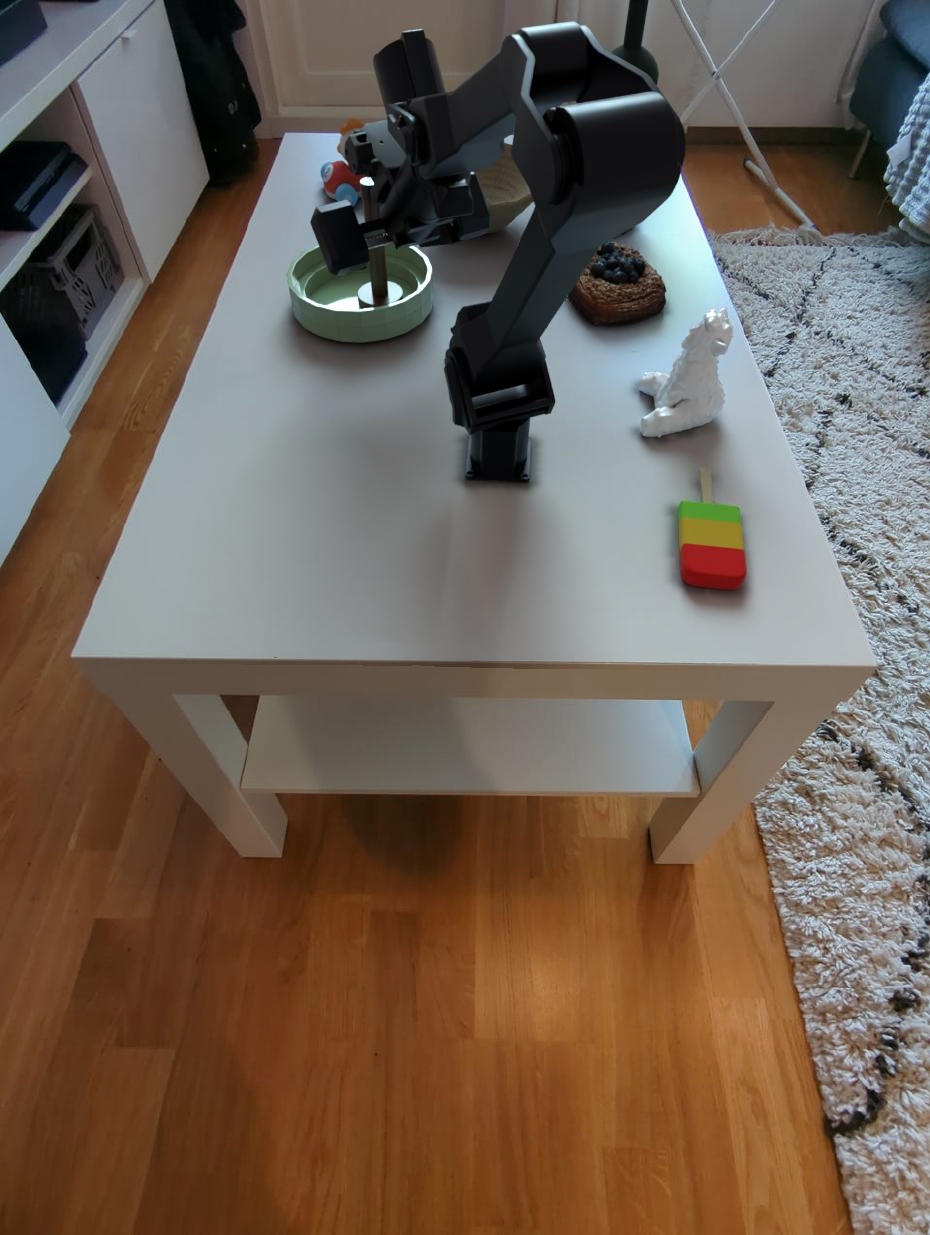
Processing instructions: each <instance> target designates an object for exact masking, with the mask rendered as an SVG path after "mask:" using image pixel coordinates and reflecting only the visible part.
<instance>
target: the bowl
mask: <svg viewBox="0 0 930 1235" xmlns="http://www.w3.org/2000/svg"><path fill="white" fill-rule="evenodd" d="M504 143H505V152H504V153H503V155H502V156H501V157H500V158H499V159H498V161H497V162H496V163H495V164H494V165H493V167H491V168H490V169H484V170H478V171H473V172H474V173H476V175H477V176H478V177H479V179H480V182H481V185H482V188H483V191H484V194H485V197H486V200H487V203H488V206H489V209H490V212H491V224H490V227H489V229H488V230H487V231H486V232H485V233H484V234H492V233H496V232H499V231H501V230H502V229H504V228H506V227H507V226H508V225H510V224H511V223H512V222H514V220H515V219H517V217H519V215H521V214H522V213H523V212H524V211H525V210H526V209H527V208H528V207H529V206H530V205H532V204H534V201H533V198H532V195H531V192H530V189H529V187H528V185H527V183H526V181H525V180H524V178H523V176H522V174H521V173H520V171H519V169H518V167H517V166H516V164H515V162H514V160H513V159H512V156H511V149H512V144H511V143H507V142H504Z"/></svg>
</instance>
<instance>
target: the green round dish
mask: <svg viewBox="0 0 930 1235" xmlns="http://www.w3.org/2000/svg"><path fill="white" fill-rule="evenodd" d="M365 240H366V238H365ZM366 241H367V240H366ZM384 246H385V258H386V269H387V281H390V282H394V283H396V284H398V285H399V286H400V287H401V288H402V290H403V297H404V299H402V300H400V301H397V302H394V303H391V304H388V305H385V306H380V307H373V308H365V309H362V308H361V307H360V306H359V304H358V296H357V293H358V290H359V289H360V287H362V286H363V285H365V284H367V283H369V282H371V278H370V268H369V263H368V265H367V268H366V269H363V270H360V271H356V272H353V273H349V274H343V275H340V276H335V275H333V274H331V273H330V272H329V270H328V268H327V265H326V262H325V260H324V257H323V255H322V252H321V249H320V247H319V244H318V243H317V244H316V245H315V244H314V245H313V246H311V247H309V248H308V249H306V250H304V251H301V253H300V254H299V255H298V256H297V257H296V258H295V259H294V260H292V261H291V262H290V265H289V267H288V270H287V272H286V275H285V276H286V280H287V285H288V291H289V296H290V301H291V307H292V311H293V316H294V319H296V320H297V322H298V323H299V324H300V325H301V326H302V327H303V328H304V329H305V330H307V331H309V332H311V333H312V334H315V335H317V336H318V337H320V338H325V339H328V340H333V341H337V342H341V343H361V344H362V343H363V344H364V343H370V342H377V341H384V340H389V339H392V338H395V337H398V336H401V335H403V334H406V333H409V332H410V331H412V330H413V329H415V328H416V327H417V326H420V325H421V324H422V323H424V321H425V320H426V318H428V316H429V315H430V313H431V312H432V309H433V305H434V304H433V303H434V299H435V298H434V273H433V269H434V268H433V266H432V264H431V262H430V259H429V257H428V256H427V255H426V254H425V253H424V252H423V251H421V250H420V249H419V248H418V247H417V246H415V245H414V246H411V247H407V248H403V249H400V250H396V248H395V245H394V243H390V244H386V245H384Z"/></svg>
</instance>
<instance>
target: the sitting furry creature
mask: <svg viewBox="0 0 930 1235" xmlns="http://www.w3.org/2000/svg"><path fill="white" fill-rule="evenodd" d="M733 334H734V330H733V325H732V324H731V322H730V319H729V313H728V309H727V307H723V308H721V309H720V310H717V308H710V309H709V310H708V311H707V312H706V313H705V314H703V317H702V318H701V320H700V321H699V322H698V324H697V325H695V326H692V327H690V328H689V332H688V333H687V334H686V336H685V338H684V339H683V340H682V342H681V349H682V351H681V352H680V355H677V357H676V359H675V360H674V361H673V363H672V370H671V371H670V373H669V374H668V373H666V372H659V371H658V370H657V371H656V370H655V371H653V372H652V371H644V374H643V376H642V377H641V380H640V382H639V385H638V386H639V387H638V390H639V391H640V392H642V393H643V394H646V395H648V396H651V397H653V401H654V410H653V411H651V412H650V413H648V414H646V415H645V416H643V417H642V418H641V419H640V424H639V429H640V434H642V436H643V437H646V438H658V439H660V438H661V437H662V436H667V435H670V434H675V433H677V432H678V433H681V432H682V431H686V430H691V429H692V428H696V427H702V426H704V425H706V424H709V423H711V422H712V420H713V419H714V418H715V417H717V416H718V415H719V414H720V413H721V412H722V410H723V408H724V407H723V406H724V404H725V403H726V399H725V397H726V394H725V390H724V388H723V387H724V384H723V383H722V382H721V381H720V379H719V374H718V371H719V357H720V356H725V355H726V354H727V353H728V348H729V347H730V344H731V342H732V340H733V338H734V335H733Z"/></svg>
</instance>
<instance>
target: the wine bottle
mask: <svg viewBox="0 0 930 1235" xmlns="http://www.w3.org/2000/svg"><path fill="white" fill-rule="evenodd" d="M648 5H649V0H628V7H627V16H626V21H625V29H624V37H623V44H621V45H619V46H617V47H615V48H614V49H612V50H611V51H610V52H611V53H612V54H614V55H616V56H618V57H619V58H621V59H623V60H624V61H626V62H628V63H630V64H631V65H633V66H635V67H636V68H638V69H640V70H642V71H643V72H645V73H647V74H648V75H649V76H650V77H651V78H652V80H653V81H654V82H655V84H656V85H657V86H658V80H659V77H660V76H659V75H660V74H659V67H658V63H657V61H656V59H655V56H654V55H653V54H652V53H651V52H650V51H649V50H648V49H647V48H645V47H644V46H643V45H642V44H643V40H644V32H645V25H646V18H647V13H648V8H649V7H648ZM631 230H633V227H632V228H630V229H629V230H627V231H625V232H623V233H621V234H620V235H619V236H622V235H625V234H626V233H628V232H630V231H631Z"/></svg>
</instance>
